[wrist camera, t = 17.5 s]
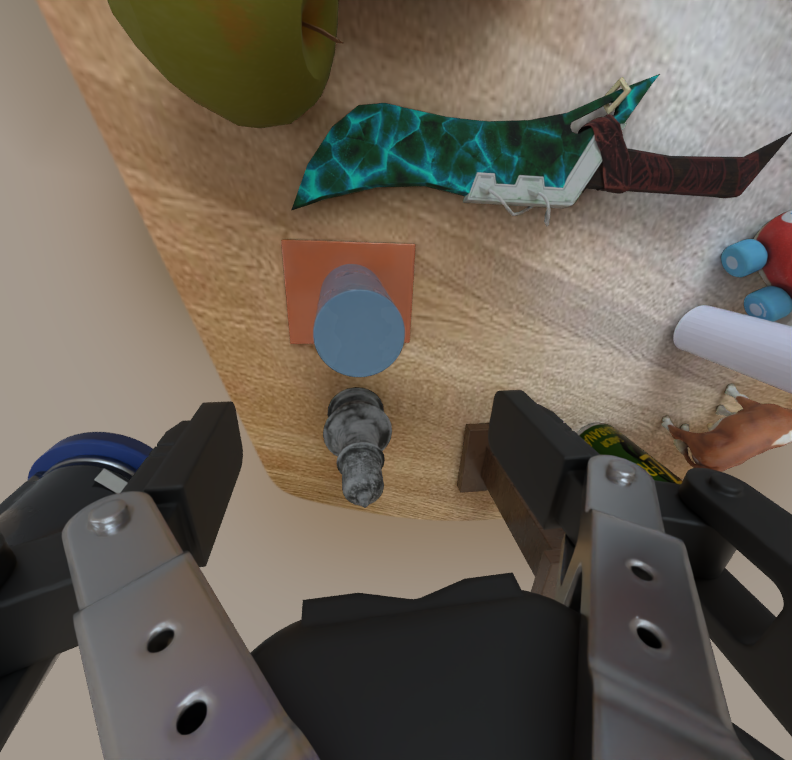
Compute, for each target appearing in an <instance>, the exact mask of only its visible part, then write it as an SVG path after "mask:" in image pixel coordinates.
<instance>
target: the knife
mask: <svg viewBox="0 0 792 760" xmlns="http://www.w3.org/2000/svg"><path fill="white" fill-rule="evenodd" d="M659 75H660V74H658V75H656V76H653V77H651V78H648V79H646V80H643V81H641V82H638V83H635V84H633V85H630V86H628V84H627V83H626V81H625V80H624V78H623V77H622V78H620V79H619V80H618V81H617V82H616V83H615V85H614V86H613V87H612V88H611V89H610V90H609V91H608V92H607V94H606V95H605V96H604V97H602V98H600V99H597V100H595V101H593V102H591V103H588V104H586V105H584V106H582V107H579V108H577V109H575V110H573V111H570V112H568V113H564V114H559V115H554V116H548V117H543V118H538V119H533V120H522V121H490V122H488V121H479V120H469V119H460V118H451V117H445V116H440V115H436V114H431V113H426V112H422V111H417V110H413V109H408V108H404V107H400V106H396V105H391V104H387V103H379V104H368V105H358V106H357V107H356V108H355V109H353V110H352V111H351V112H350V113H348V114H347V115H346V116H345V117H344V118H342V119H341V120H340V121H339V122H337V123H336V124H335V125H334V126H333V127H332V128H331V130H330V131H329V133H328V134H327V136H326V137H325V139H324V140H323V142H322V143H321V145H320V146H319V148H318V149H317V151H316V152H315V154H314V156H313V157H312V159H311V160H310V162H309V163H308V165H307V167H306V170H305V173H304V176H303V179H302V182H301V184H300V187H299V190H298V193H297V196H296V199H295V201H294V204H293V207H292V210H294V209H297V208H300V207H303V206H306V205H309V204H312V203H315V202H318V201H321V200H324V199H328V198H332V197H337V196H341V195H345V194H350V193H354V192H359V191H363V190H367V189H372V188H376V187H411V186H426V187H431V188H435V189H439V190H443V191H447V192H450V193H454V194H458V195H462V196H465V197H464V200H463V203H479V204H498V205H503V206H504V207H505V208H506V210H507V211H508V212H509V213H510V214H511V215H512V216H517V215H520V214H522V213H524V212H526V211H528V210H530V209H531V208H533V207H547V210H546V213H545V220H544V222H545V225H546V226H549V220H550V208H566V207H569V206H572V205H573V204H574V203H575V202H576V201H577V199H578V198H579V196H580V195H581V193H583V192H584V190H585V189H586V188H588V189H596V190H601V191H607V192H612V193H623V192H626V191H632V192H646V193H662V194H677V195H692V196H707V197H718V198H732V197H738V196H740V195H741V194H742V193H743V192H744V190H745V189H746V188H747V187H748V186H749V184H750V183H751V182H752V181H753V180H754V178H755V177H756V176H757V175H758V174H759V172H760V171H761V170H762V169H763V168H764V167H765V165H766V164H767V163H768V162H769V161H770V159H771V158H772V157H773V156H774V155H775V153H776V152H777V151H778V150H779V149H780V147H781V146H782V145H783V144H784V143H785V142H786V140H787V139H788V138H789V137H790V136H791V134H792V133H790V134H788V135H786V136H784V137H782V138H780V139H778V140H776V141H774V142H772V143H770V144H768V145H766V146H764V147H762V148H760V149H758V150H756V151H754V152H753V153H751V154H749V155H747V156H745V157H693V156H667V155H662V154H656V153H650V152H644V151H639V150H633V149H627V147H626V144H625V142H624V139H623V134H622V130H623V129H624V127H625V126H626V124H627V123H625V122H626V120H627V119H628V118H629V116H630V115H631V113H632V112H633V110H634V109H635V107H636V106H637V105H638V103H639V102H640V100H641V99H642V98H643V96H644V95H645V93H646V92H647V90H648V89H649V88H650V86H651V85H652V83H653V82H654V81H655V80H656V78H657V77H658V76H659ZM620 86H621V87H622V89H620V90H617V89H618V88H619V87H620ZM616 90H617V91H616ZM609 103H613V104H612V105H611V106H610V105H609ZM602 106H603V107H604V109H605V110H606V112H607V114H608V115H606V116H605V117H599V118H596V119H594V120H592V121H590V122H589V123H587V124H586V125H584V126H583V127H582V128H581V129H580V130H579V131H578V134H575V133H573V132H572V131H571V128H570V125H571V123H572V122H573V121H575V120H577V119H579V118H581V117H583V116H585V115H587V114H589V113H591V112H593V111H595V110H597V109H599V108H600V107H602ZM614 109H615V112H614V115H611V114H610V113H612V111H613V110H614ZM624 123H625V124H624ZM508 205H513V206H529V207H528V208H526V209H524V210H522V211H520V212H516V213H514V212H512V210H511V209H510V208H509V207H508Z"/></svg>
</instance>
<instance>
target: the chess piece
mask: <svg viewBox="0 0 792 760" xmlns="http://www.w3.org/2000/svg"><path fill="white" fill-rule="evenodd" d="M391 434H392V427H391V422H390V420H389V418H388V416H387V415H386V414H385V413H384V409H383V404H382V402H381V400H380V398H379V397H378V396H377V395H376V394H375V393H373V392H372V391H370V390H368V389H364V388H356V387H355V388H349V389H346V390H343V391H341V392H340V393H338V394H337V395H336V396H335V397H334V398H333V399H332V400H331V402H330V404H329V407H328V419H327V421H326V423H325V426H324V431H323V437H324V442H325V444H326V446H327V447H328V449H329V450H330V451H331V452H332V453H333V454H334V455H336V456H338V458H337V468H338V470H339V472H340V473H341V474H342V490H343V494H344V496H345V498H346V499H347V500H348V501H349V502H351V503H353V504H355V505H359V506H362V507H364V508H366V507H367V506H368V505H369V504H371V503H373V502H375V501H376V500H377V499H378V498H379V497H380V496H381V494H382V493H383V488H384V482H383V476H382V471H381V469H382V467H383V465H384V461H385V460H384V454H383V452H382V451H383V450H384V449H385V448H386V446H387V445H388V443H389V441H390V439H391Z"/></svg>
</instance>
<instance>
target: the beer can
mask: <svg viewBox="0 0 792 760" xmlns="http://www.w3.org/2000/svg"><path fill="white" fill-rule="evenodd" d="M577 434H578V435H579V436H580V437H581V438H582V439H583V440H584V441H586V442H587V443H588V444H589V445H590V446H591V447H592V448H593V449H594V450H595V451H597V452H598V453H599V454H600V455H611V456H616V457H620V458H623V459H626V460H629V461H631V462H633V463H635V464H637V465H638V466H640V467H642V468H643V469H644V470H646V471H647V472H648V473H649V474H650V475H651V476H652V478H653V480H655V481H662V482H669V483H676V484H682V480H681V479H680V478H679V477H677V476H676V475H675V474H673V473H672V472H671V471H670V470H668V469H667V468H666V467H664V466H663V465H662V464H661V463H659V462H658V461H657V460H655V459H654V458H653V457H652V456H650V455H649V454H648V453H646V452H645V451H644V450H642V449H641V448H640V447H639V446H637V445H636V444H635V443H633V442H632V441H631V440H630V439H628V438H627V437H626V436H624V435H623V434H622V433H621V432H619V431H618V430H617V429H615V428H614V427H613V426H611V425H608V424H604V423H592V424H589V425H587V426H585V427H583V428H582V429H580V430H579V431H578V432H577Z"/></svg>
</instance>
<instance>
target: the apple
mask: <svg viewBox="0 0 792 760" xmlns="http://www.w3.org/2000/svg"><path fill="white" fill-rule="evenodd" d="M338 2H339V0H108V3H109V5H110V8H111V11H112V13H113V15H114V16H115V17H116V19H117V20H118V22H119V23H120V24H121V26H122V27H123V29H124V30H125V31H126V33H127V34H128V36H129V37H130V38H131V40H132V41H133V43H134V44H135V45H136V47H137V48H138V49H139V50H140V51H141V52H142V53H143V54H144V55H145V56H146V57H147V58H148V59H149V61H150V62H151V63H152V64H153V65H154V66H155V67H156V68H157V69H158V70H159V71H160V72H161V73H162V74H163V75H164V77H165V78H166V79H167V80H168V81H169V82H170V83H172V84H173V85H174V86H175V87H177V88H178V89H179V90H181V91H182V92H183V93H184V94H186V95H187V96H188V97H189V98H191V99H192V100H193V101H194V102H196V103H198V104H199V105H201V106H203V107H205V108H207V109H209V110H210V111H212V112H214V113H216V114H218V115H220V116H221V117H223V118H225V119H227V120H229V121H231V122H232V123H234V124H236V125H238V126H245V127H254V128H265V127H272V126H278V125H285V124H291V123H292V122H294V121H295V120H296V119H297V118H299V117H300V116H301V115H302V114H304V113H305V112H306V111H307V110H309V109H310V108H311V107H312V106H314V104H315V103H316V102H317V101H318V99H319V98H320V97H321V95H322V93H323V90H324V88H325V85H326V83H327V80H328V78H329V74H330V70H331V66H332V62H333V58H334V55H335V46H336V43H343V42H341V41H340V40H338V39H337V38H336V36H337V25H338Z"/></svg>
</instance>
